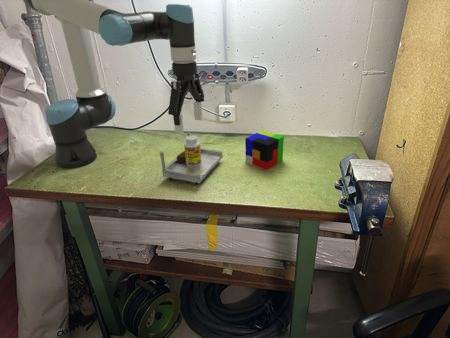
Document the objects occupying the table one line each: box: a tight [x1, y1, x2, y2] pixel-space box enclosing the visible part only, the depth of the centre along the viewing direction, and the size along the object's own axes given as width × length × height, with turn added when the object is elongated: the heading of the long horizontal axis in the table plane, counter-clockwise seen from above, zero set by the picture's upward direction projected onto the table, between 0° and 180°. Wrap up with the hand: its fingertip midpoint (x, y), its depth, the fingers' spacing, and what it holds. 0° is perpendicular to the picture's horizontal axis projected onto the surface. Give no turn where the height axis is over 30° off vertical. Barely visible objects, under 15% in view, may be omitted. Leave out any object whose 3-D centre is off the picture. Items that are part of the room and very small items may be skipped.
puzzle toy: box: [244, 130, 285, 171], centre depth 113 cm, size 10×10×10 cm
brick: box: [176, 150, 186, 163], centre depth 114 cm, size 11×4×5 cm, turn 154°
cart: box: [159, 130, 224, 186], centre depth 108 cm, size 14×20×11 cm
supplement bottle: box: [183, 134, 201, 166], centre depth 107 cm, size 6×6×10 cm
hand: (189, 126), depth 103 cm, fingers open, 13 cm apart
